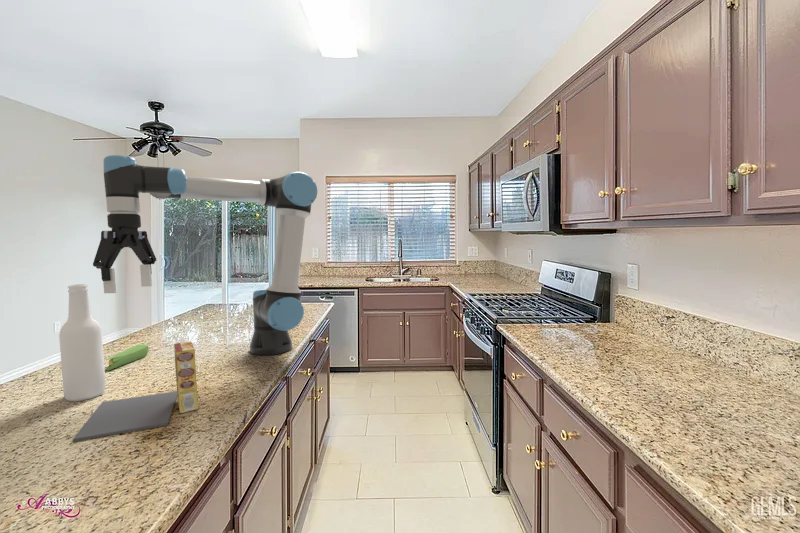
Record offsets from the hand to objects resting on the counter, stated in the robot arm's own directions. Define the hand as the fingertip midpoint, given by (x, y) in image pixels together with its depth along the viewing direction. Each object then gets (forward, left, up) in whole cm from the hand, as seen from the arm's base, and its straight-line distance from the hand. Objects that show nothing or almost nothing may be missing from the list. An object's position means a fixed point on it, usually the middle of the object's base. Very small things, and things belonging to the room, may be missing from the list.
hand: (129, 289), depth 109 cm
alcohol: (+11, +2, -28) cm, 30 cm away
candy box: (-15, +21, -28) cm, 38 cm away
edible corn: (+8, -26, -28) cm, 39 cm away
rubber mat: (-4, +21, -28) cm, 35 cm away
